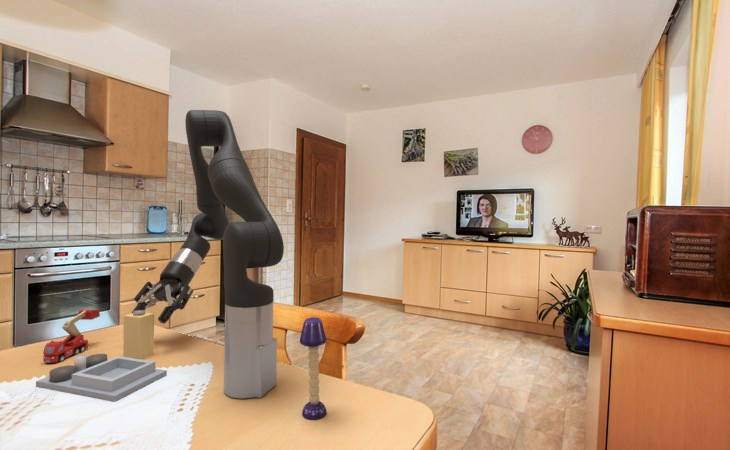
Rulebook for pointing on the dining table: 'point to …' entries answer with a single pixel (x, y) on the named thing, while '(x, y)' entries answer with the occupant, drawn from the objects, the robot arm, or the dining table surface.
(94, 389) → the grey insertion tray
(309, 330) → the toy lamp
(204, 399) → the dining table surface
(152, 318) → the tan knobbed block
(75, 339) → the toy fire truck
